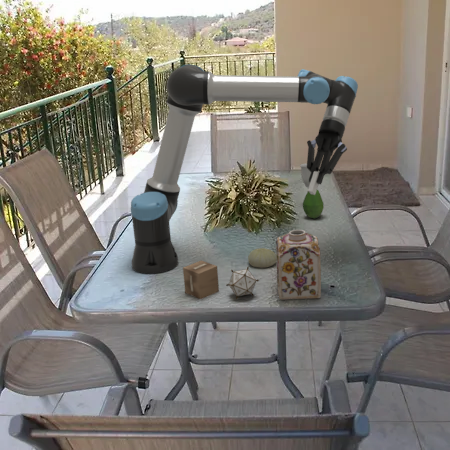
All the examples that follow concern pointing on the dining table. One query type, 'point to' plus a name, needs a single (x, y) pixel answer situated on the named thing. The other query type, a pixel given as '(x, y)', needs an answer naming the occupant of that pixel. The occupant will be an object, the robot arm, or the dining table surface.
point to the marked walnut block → (201, 279)
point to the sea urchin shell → (262, 258)
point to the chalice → (305, 174)
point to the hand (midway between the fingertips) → (311, 192)
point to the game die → (242, 282)
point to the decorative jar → (298, 266)
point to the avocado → (313, 205)
